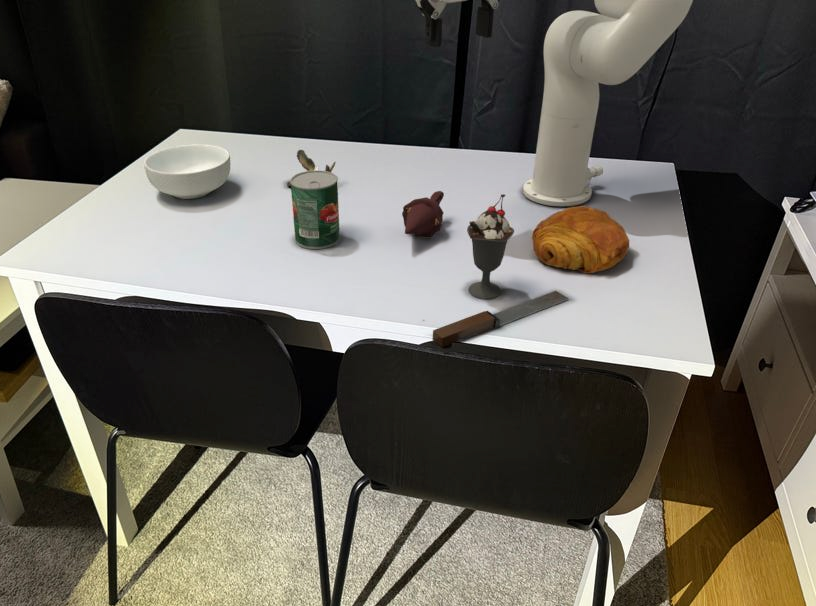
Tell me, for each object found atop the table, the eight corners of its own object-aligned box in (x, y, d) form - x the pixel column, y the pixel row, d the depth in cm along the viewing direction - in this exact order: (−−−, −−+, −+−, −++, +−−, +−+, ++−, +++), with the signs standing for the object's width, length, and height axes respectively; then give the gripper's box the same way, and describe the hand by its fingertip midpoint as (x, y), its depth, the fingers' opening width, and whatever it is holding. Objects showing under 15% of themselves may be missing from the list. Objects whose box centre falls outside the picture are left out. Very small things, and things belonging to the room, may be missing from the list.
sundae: (510, 282, 109) (520, 190, 100) (503, 304, 104) (514, 210, 95) (467, 277, 111) (474, 186, 102) (458, 298, 106) (465, 205, 97)
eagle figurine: (338, 173, 145) (299, 160, 147) (334, 152, 138) (293, 139, 140) (322, 204, 143) (283, 190, 145) (316, 184, 136) (276, 169, 138)
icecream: (433, 222, 113) (463, 195, 124) (392, 204, 115) (425, 178, 126) (420, 259, 117) (450, 229, 128) (380, 241, 119) (413, 213, 130)
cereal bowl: (248, 193, 141) (244, 159, 137) (171, 216, 134) (164, 180, 130) (211, 169, 153) (206, 136, 149) (137, 188, 146) (130, 155, 141)
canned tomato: (294, 230, 127) (289, 171, 120) (337, 227, 127) (335, 168, 121) (296, 251, 121) (291, 190, 114) (342, 247, 121) (339, 186, 114)
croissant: (514, 264, 118) (514, 222, 113) (575, 224, 124) (577, 183, 119) (587, 296, 109) (590, 251, 103) (649, 251, 114) (655, 207, 109)
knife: (555, 291, 107) (556, 282, 106) (568, 300, 105) (570, 290, 104) (431, 338, 98) (431, 329, 97) (443, 348, 96) (443, 339, 95)
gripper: (497, -96, 105) (487, 28, 116) (399, -86, 99) (398, 45, 109) (531, -94, 100) (518, 36, 110) (431, -83, 94) (427, 54, 104)
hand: (458, 40), depth 110 cm, fingers open, 9 cm apart
